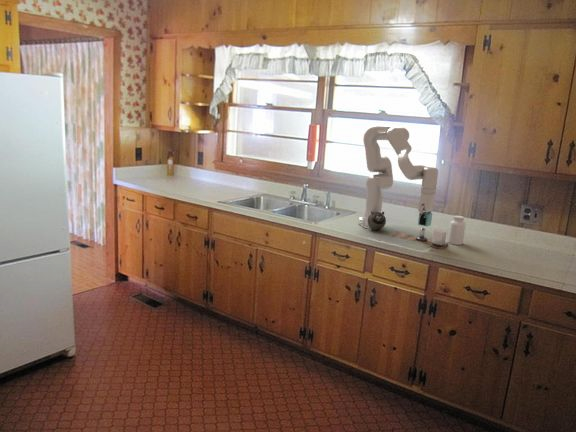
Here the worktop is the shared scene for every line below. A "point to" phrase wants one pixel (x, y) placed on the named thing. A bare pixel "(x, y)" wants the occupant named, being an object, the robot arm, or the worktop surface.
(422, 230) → the dark grey knobbed dome
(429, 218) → the matte teal square block
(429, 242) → the board
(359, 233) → the worktop surface
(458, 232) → the pill bottle
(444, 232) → the pale wooden cube
